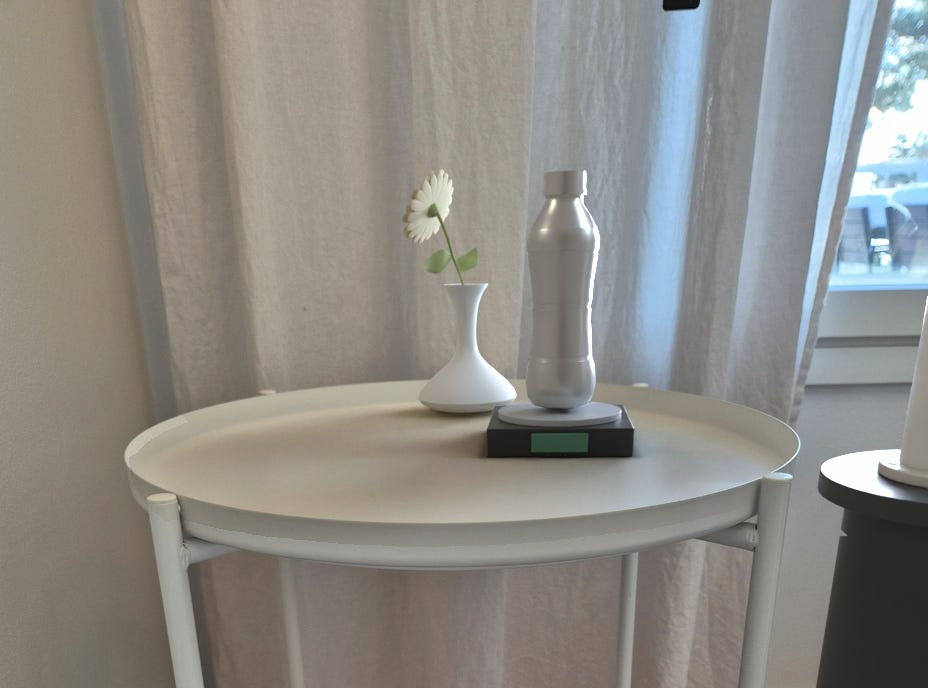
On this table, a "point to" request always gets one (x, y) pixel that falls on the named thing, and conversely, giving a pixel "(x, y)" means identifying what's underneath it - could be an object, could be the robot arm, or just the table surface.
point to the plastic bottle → (562, 295)
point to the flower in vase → (467, 373)
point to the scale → (560, 431)
